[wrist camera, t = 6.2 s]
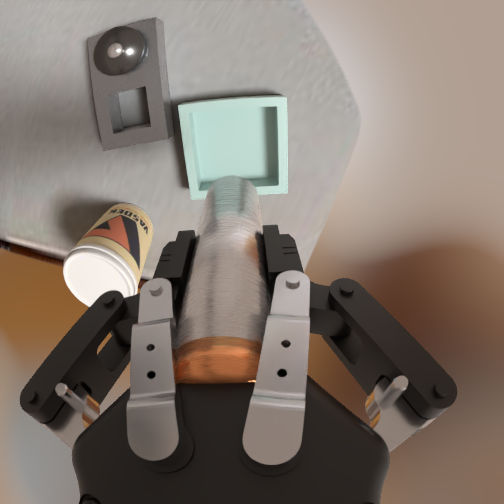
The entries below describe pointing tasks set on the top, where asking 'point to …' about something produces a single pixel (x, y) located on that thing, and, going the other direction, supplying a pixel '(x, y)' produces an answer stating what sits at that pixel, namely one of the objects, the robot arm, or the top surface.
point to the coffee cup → (110, 254)
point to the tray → (236, 142)
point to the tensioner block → (130, 81)
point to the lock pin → (225, 289)
